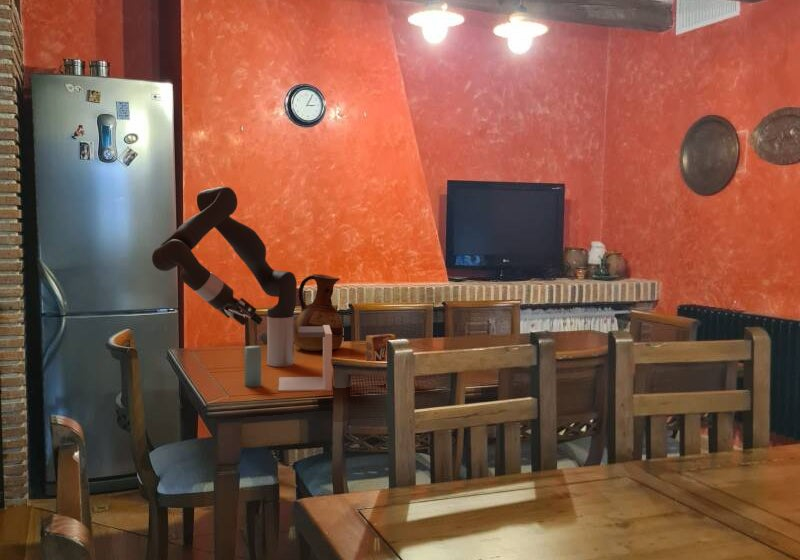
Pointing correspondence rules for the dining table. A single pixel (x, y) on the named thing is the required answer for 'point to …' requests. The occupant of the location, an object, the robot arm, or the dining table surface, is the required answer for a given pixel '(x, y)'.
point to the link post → (252, 366)
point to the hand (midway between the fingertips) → (252, 322)
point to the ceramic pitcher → (318, 314)
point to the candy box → (377, 346)
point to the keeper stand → (326, 380)
